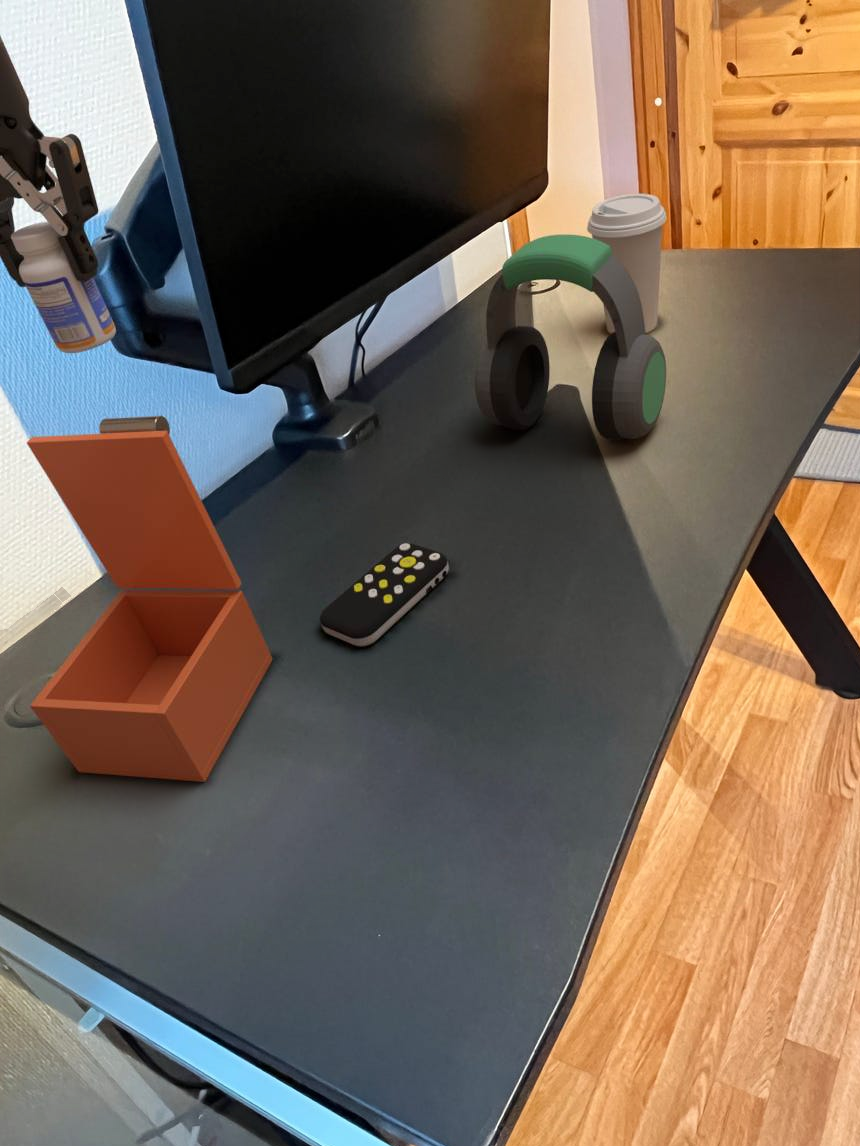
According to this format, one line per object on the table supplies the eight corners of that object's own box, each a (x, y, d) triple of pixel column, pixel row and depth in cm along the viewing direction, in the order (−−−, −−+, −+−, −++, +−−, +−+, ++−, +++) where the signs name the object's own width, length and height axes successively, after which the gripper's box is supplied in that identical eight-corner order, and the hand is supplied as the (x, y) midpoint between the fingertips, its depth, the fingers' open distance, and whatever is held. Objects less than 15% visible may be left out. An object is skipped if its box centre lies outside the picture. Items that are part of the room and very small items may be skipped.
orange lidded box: (205, 782, 67) (163, 713, 62) (78, 772, 70) (29, 705, 65) (273, 659, 76) (242, 590, 71) (159, 655, 79) (121, 589, 74)
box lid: (162, 436, 61) (195, 395, 64) (25, 442, 64) (64, 403, 67) (238, 589, 71) (263, 546, 74) (117, 588, 74) (146, 547, 77)
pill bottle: (95, 326, 81) (44, 215, 75) (129, 332, 78) (79, 218, 72) (46, 351, 78) (-12, 238, 72) (79, 358, 75) (23, 242, 69)
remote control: (317, 632, 78) (310, 615, 77) (407, 553, 85) (402, 536, 83) (366, 653, 75) (360, 636, 73) (456, 569, 81) (452, 552, 80)
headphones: (672, 410, 96) (668, 221, 83) (638, 462, 90) (627, 265, 77) (519, 397, 105) (493, 223, 92) (477, 444, 98) (443, 263, 85)
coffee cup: (589, 319, 118) (578, 202, 108) (658, 305, 118) (654, 186, 108) (604, 348, 111) (594, 224, 101) (678, 332, 111) (675, 207, 101)
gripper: (59, 23, 64) (152, 257, 76) (-94, 52, 68) (16, 271, 79) (-3, 42, 59) (107, 291, 70) (-165, 73, 63) (-36, 304, 74)
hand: (58, 280), depth 75 cm, fingers closed on pill bottle, 5 cm apart
